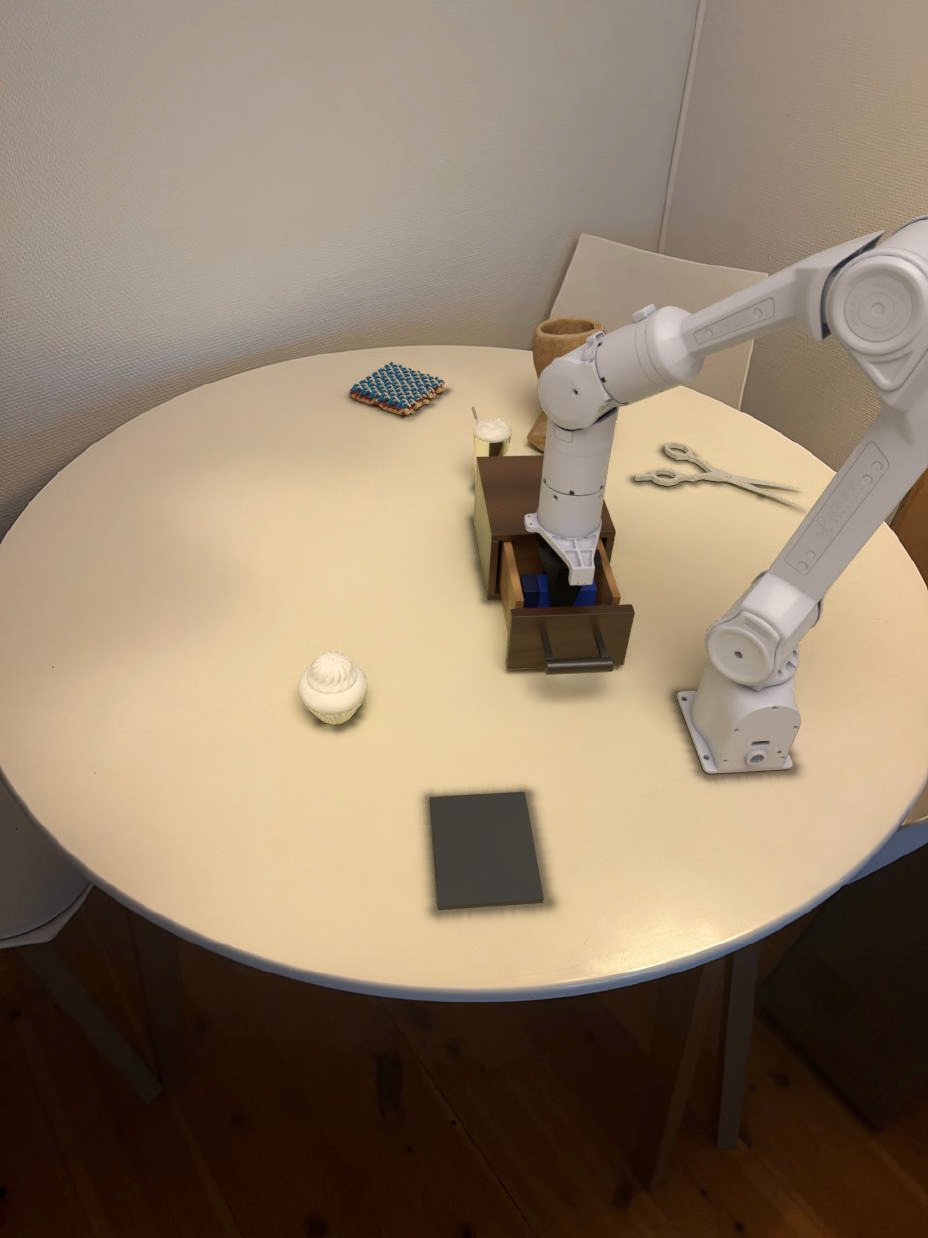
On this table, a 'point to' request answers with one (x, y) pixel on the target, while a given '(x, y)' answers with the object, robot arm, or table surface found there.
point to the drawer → (562, 619)
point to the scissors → (711, 473)
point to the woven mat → (397, 389)
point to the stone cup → (557, 355)
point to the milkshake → (491, 437)
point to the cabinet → (512, 509)
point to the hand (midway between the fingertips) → (558, 595)
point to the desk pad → (484, 851)
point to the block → (539, 595)
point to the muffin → (332, 687)
